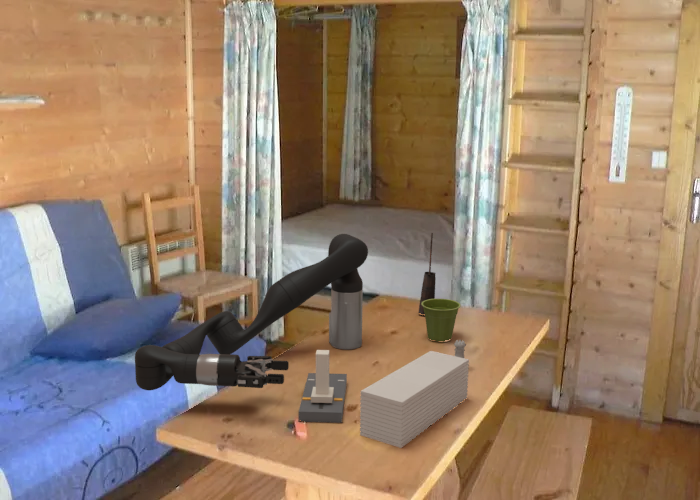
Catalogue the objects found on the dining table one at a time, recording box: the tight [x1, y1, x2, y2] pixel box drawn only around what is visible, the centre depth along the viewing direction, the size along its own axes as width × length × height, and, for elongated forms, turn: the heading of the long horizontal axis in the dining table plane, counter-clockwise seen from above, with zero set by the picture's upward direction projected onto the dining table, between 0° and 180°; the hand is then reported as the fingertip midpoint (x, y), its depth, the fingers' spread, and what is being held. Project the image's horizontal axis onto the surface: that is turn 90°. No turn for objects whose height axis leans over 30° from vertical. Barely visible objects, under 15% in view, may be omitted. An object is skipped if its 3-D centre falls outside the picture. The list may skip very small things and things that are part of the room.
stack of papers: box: [359, 350, 470, 449], centre depth 181 cm, size 32×11×11 cm, turn 145°
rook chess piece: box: [453, 339, 467, 358], centre depth 211 cm, size 4×4×8 cm
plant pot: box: [421, 298, 462, 342], centre depth 235 cm, size 12×12×11 cm
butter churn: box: [418, 232, 436, 314], centre depth 256 cm, size 9×10×28 cm
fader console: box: [298, 372, 348, 424], centre depth 189 cm, size 24×10×3 cm, turn 178°
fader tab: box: [311, 349, 334, 403], centre depth 183 cm, size 6×5×12 cm
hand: (286, 372), depth 183 cm, fingers open, 8 cm apart
